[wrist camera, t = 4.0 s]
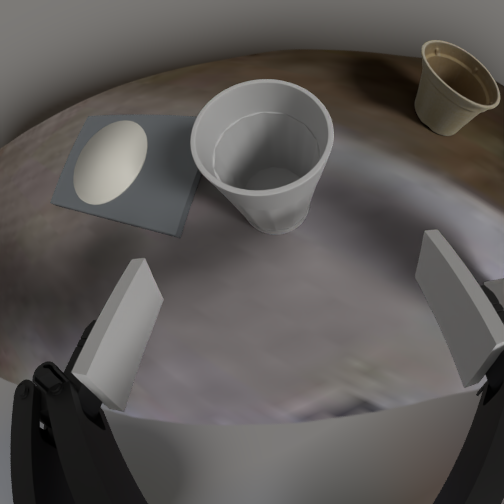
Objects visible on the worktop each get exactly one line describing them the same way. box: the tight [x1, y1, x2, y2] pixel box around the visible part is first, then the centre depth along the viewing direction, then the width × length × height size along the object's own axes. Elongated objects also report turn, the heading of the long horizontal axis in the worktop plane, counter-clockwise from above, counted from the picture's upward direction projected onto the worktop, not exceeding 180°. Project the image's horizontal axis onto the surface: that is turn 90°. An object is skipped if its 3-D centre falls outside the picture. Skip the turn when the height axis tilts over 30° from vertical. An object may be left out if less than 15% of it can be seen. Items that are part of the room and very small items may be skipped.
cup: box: [190, 79, 334, 235], centre depth 20 cm, size 8×8×12 cm
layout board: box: [50, 115, 202, 238], centre depth 29 cm, size 20×13×1 cm, turn 75°
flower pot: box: [415, 40, 500, 136], centre depth 21 cm, size 9×9×9 cm
